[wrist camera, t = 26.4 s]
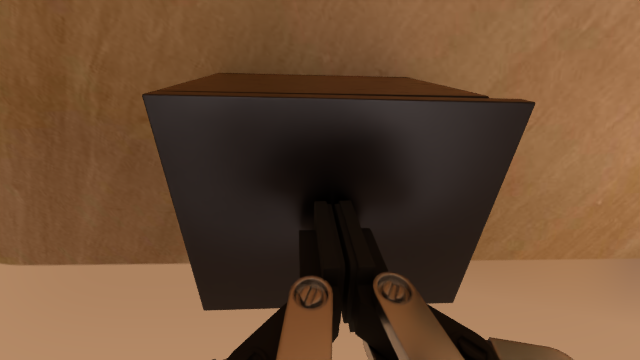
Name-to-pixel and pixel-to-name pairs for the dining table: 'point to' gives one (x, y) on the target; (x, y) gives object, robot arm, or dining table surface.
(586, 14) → the dining table surface
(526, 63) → the dining table surface
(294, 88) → the box
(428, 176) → the lid
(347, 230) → the robot arm
